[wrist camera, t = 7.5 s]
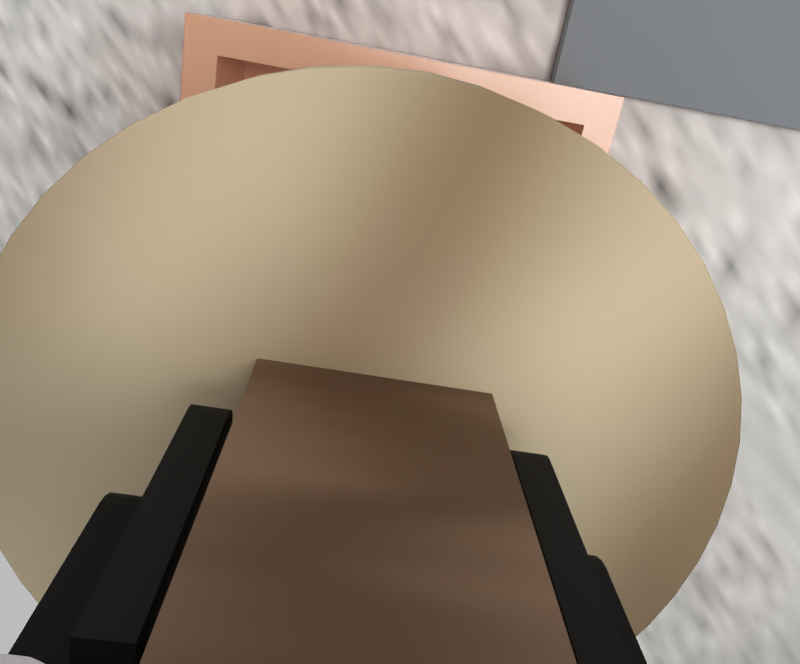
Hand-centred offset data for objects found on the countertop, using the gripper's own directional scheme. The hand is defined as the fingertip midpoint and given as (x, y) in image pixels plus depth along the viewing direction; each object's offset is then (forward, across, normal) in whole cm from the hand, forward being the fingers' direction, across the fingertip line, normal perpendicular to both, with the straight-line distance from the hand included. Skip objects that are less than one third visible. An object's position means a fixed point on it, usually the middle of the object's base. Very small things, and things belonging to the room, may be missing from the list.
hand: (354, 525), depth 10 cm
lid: (+2, 0, 0) cm, 2 cm away
